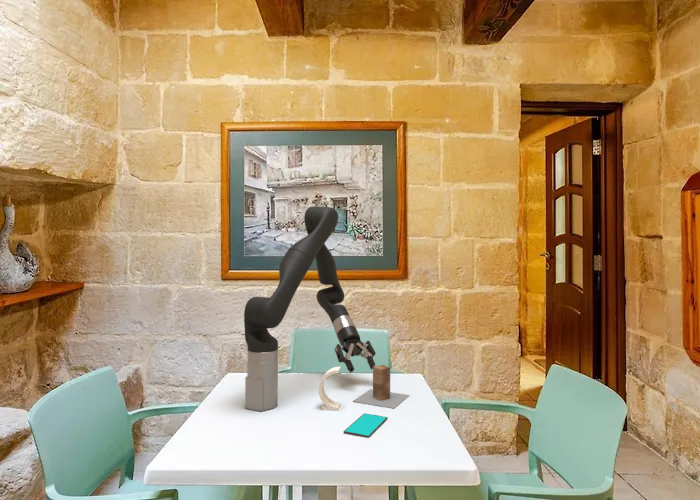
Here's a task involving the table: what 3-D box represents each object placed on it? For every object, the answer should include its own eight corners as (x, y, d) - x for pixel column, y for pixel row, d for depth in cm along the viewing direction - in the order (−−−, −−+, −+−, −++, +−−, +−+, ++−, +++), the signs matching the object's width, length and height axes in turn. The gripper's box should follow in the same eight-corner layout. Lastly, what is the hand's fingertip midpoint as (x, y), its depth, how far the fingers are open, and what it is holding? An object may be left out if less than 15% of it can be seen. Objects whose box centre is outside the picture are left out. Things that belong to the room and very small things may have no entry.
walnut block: (380, 400, 146) (380, 369, 146) (372, 397, 150) (373, 366, 150) (390, 398, 148) (390, 367, 148) (382, 395, 152) (383, 364, 152)
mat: (394, 408, 140) (394, 408, 140) (352, 401, 146) (352, 401, 146) (409, 395, 152) (409, 395, 152) (370, 389, 158) (370, 389, 158)
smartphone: (343, 431, 121) (364, 413, 135) (343, 434, 121) (364, 416, 135) (369, 436, 118) (388, 417, 132) (369, 439, 118) (388, 420, 132)
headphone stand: (338, 410, 138) (338, 370, 138) (318, 409, 138) (318, 369, 138) (340, 405, 142) (340, 366, 142) (320, 404, 143) (321, 365, 143)
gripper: (332, 326, 162) (349, 366, 153) (366, 323, 170) (384, 360, 160) (325, 338, 167) (341, 378, 157) (358, 335, 174) (375, 372, 165)
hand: (363, 369), depth 159 cm, fingers open, 8 cm apart
